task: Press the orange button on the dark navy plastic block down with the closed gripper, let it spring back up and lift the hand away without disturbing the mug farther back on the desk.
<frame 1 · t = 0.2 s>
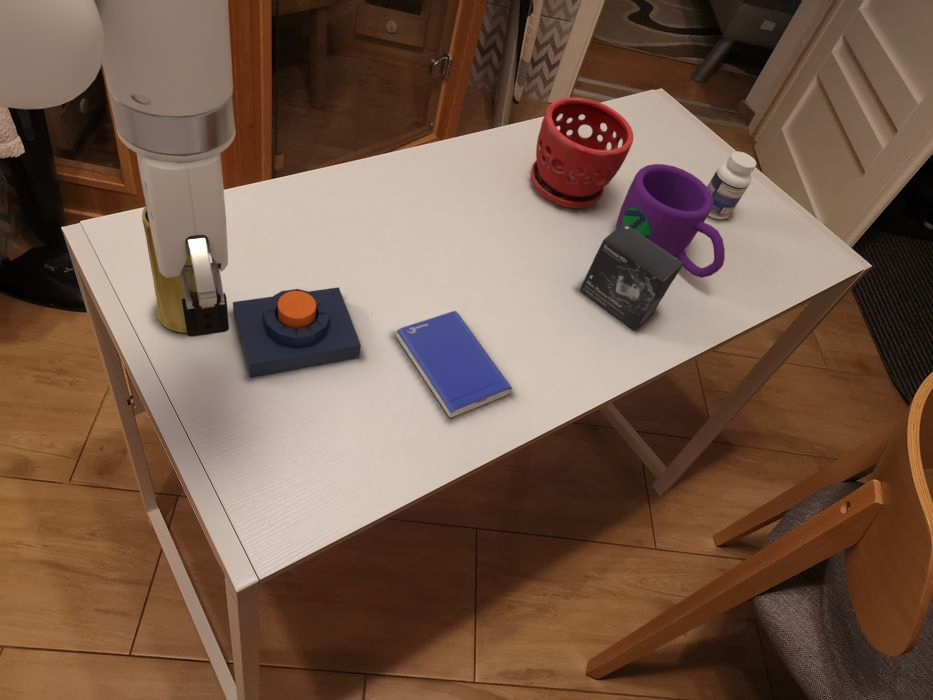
hand: (198, 288, 58), 16 cm above the table, tool pointing down, fingers open, 9 cm apart
mug: (659, 256, 100), on the table
hard drive: (451, 366, 79), on the table
vase: (187, 314, 76), on the table
flower pot: (564, 191, 105), on the table
orange button: (296, 309, 74), point 4 cm above the table, slide at 0.1 cm
pill bottle: (712, 210, 110), on the table
button block: (296, 336, 77), on the table
box: (615, 302, 92), on the table
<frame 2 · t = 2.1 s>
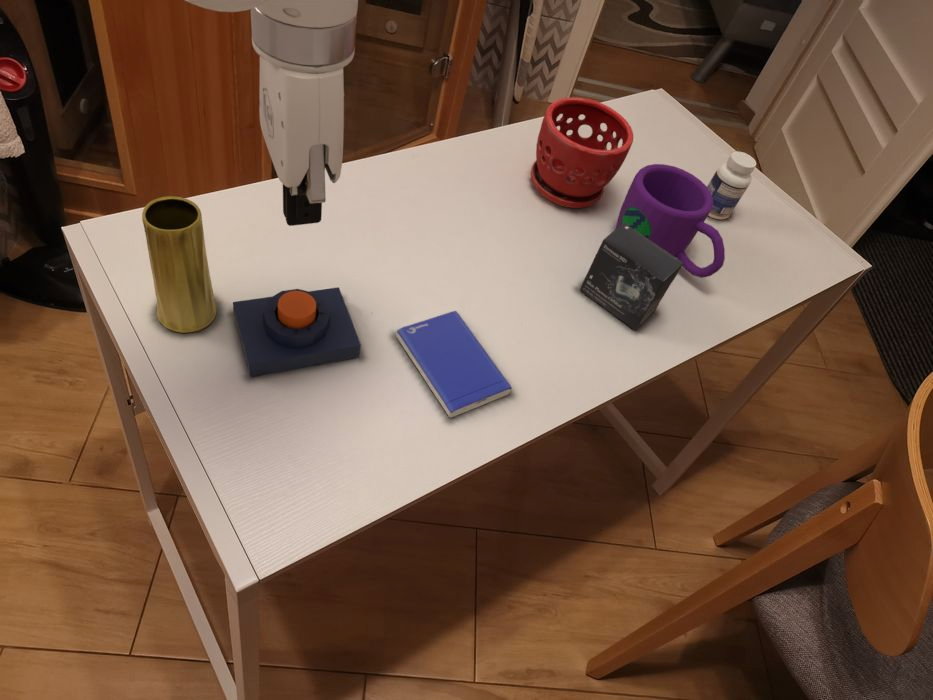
hand: (302, 218, 64), 17 cm above the table, tool pointing down, fingers closed
nothing on the table moved.
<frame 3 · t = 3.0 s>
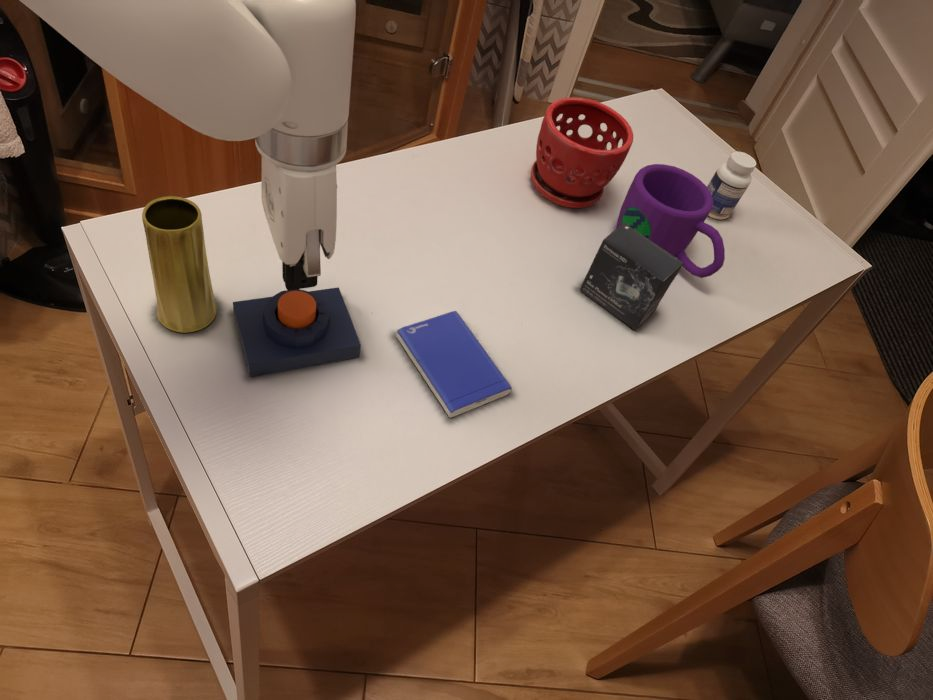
hand: (299, 282, 71), 8 cm above the table, tool pointing down, fingers closed
nothing on the table moved.
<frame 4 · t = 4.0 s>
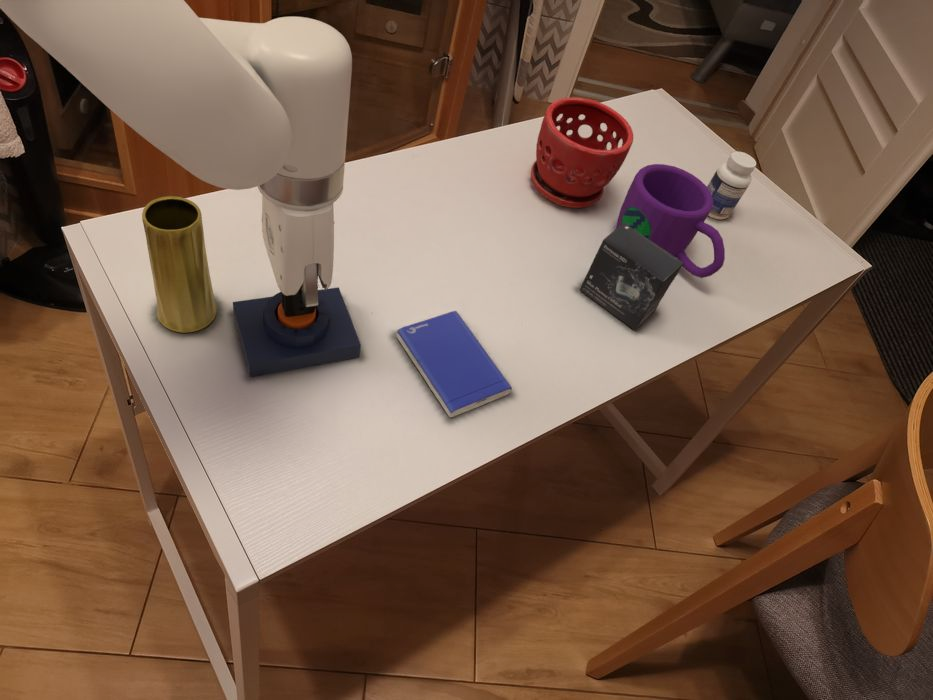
hand: (298, 309, 74), 4 cm above the table, tool pointing down, fingers closed
orange button: (296, 315, 74), point 3 cm above the table, slide at -0.9 cm, touching gripper
everything else where it was.
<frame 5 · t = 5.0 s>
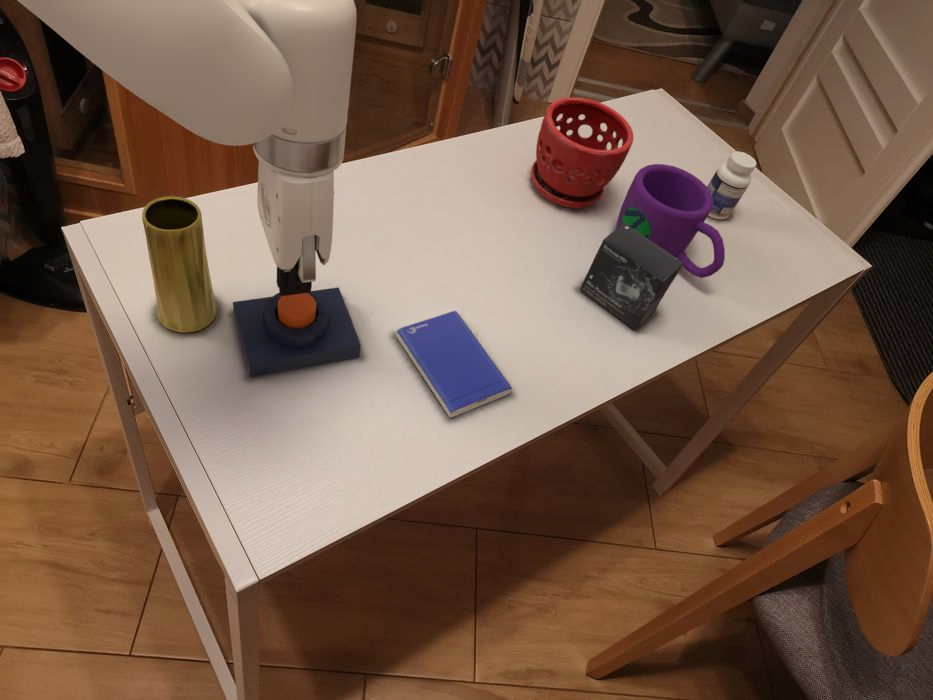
hand: (294, 288, 71), 8 cm above the table, tool pointing down, fingers closed
orange button: (296, 309, 74), point 4 cm above the table, slide at 0.1 cm
everything else where it was.
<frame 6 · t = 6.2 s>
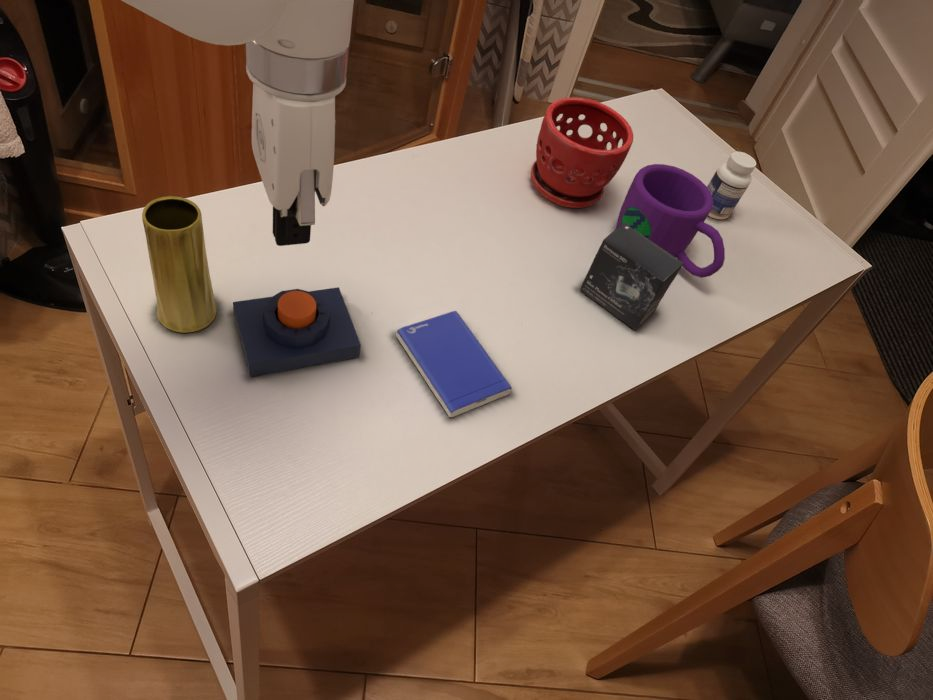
hand: (291, 238, 65), 15 cm above the table, tool pointing down, fingers closed
nothing on the table moved.
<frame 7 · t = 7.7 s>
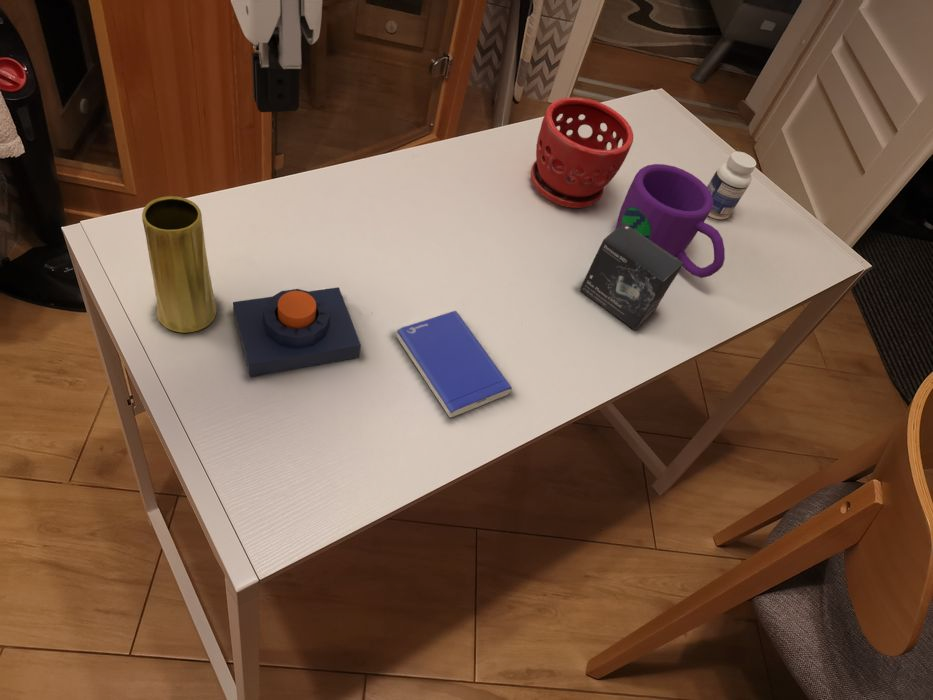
hand: (276, 105, 54), 29 cm above the table, tool pointing down, fingers closed
nothing on the table moved.
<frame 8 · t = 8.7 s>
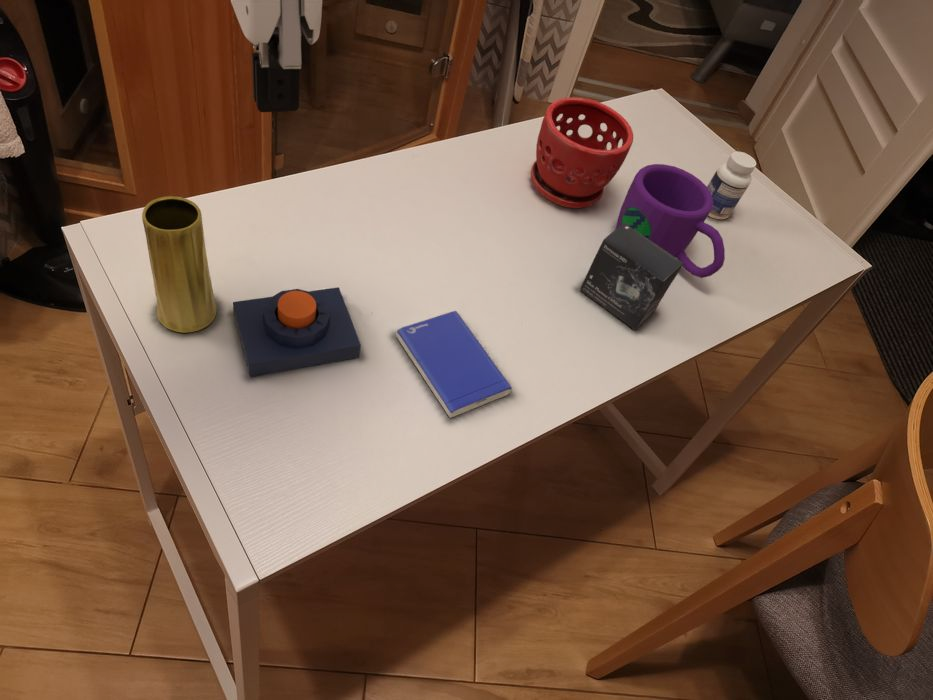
hand: (276, 105, 54), 29 cm above the table, tool pointing down, fingers closed
nothing on the table moved.
at the end: orange button pushed in 1.1 cm at the most during the clip, back to where it started at the end; orange button slide at 0.1 cm; mug moved 0.2 cm from its start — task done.
